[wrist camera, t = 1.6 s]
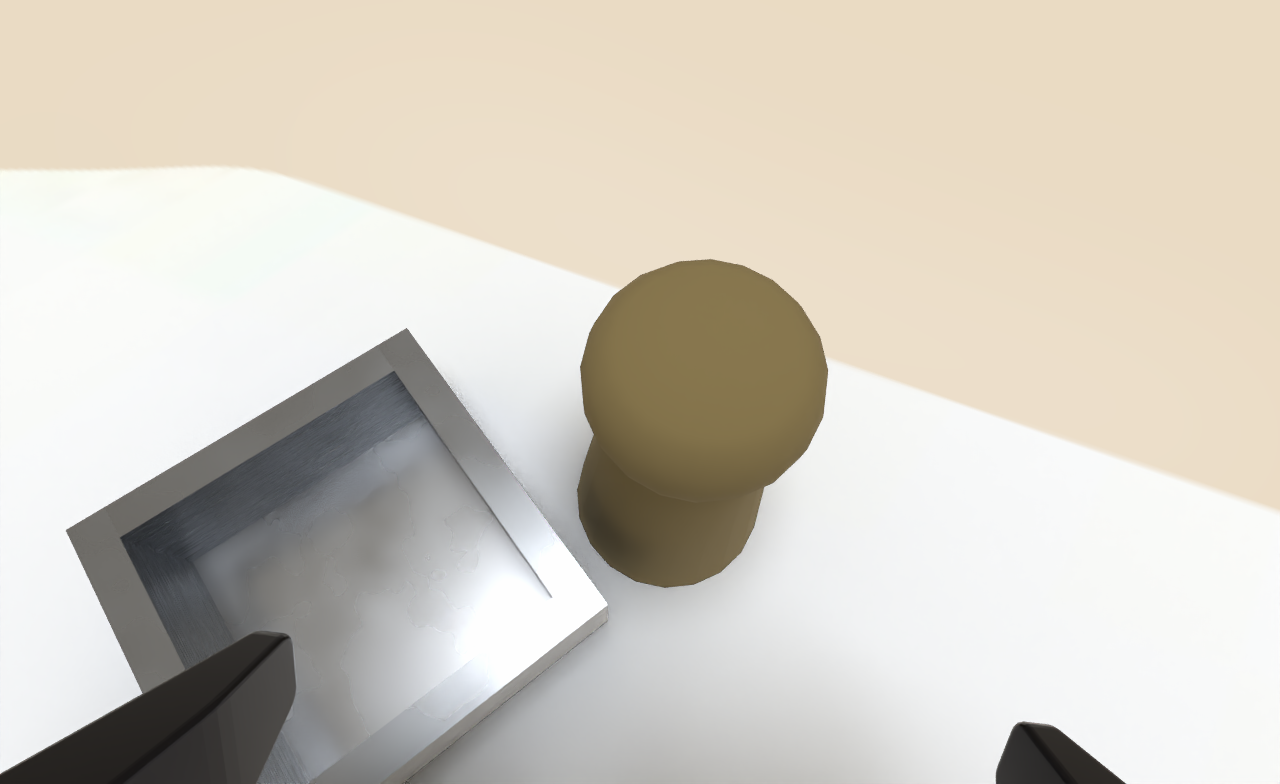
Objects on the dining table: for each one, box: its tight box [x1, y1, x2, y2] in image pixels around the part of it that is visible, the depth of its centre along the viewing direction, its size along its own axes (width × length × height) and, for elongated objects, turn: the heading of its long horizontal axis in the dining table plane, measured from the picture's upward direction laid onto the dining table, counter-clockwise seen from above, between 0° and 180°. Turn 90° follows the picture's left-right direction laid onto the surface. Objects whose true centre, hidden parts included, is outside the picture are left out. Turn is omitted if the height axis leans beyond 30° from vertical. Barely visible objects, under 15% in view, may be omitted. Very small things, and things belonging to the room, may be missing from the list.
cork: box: [577, 259, 828, 588], centre depth 18 cm, size 6×6×11 cm
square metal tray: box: [66, 328, 608, 784], centre depth 20 cm, size 10×10×4 cm
